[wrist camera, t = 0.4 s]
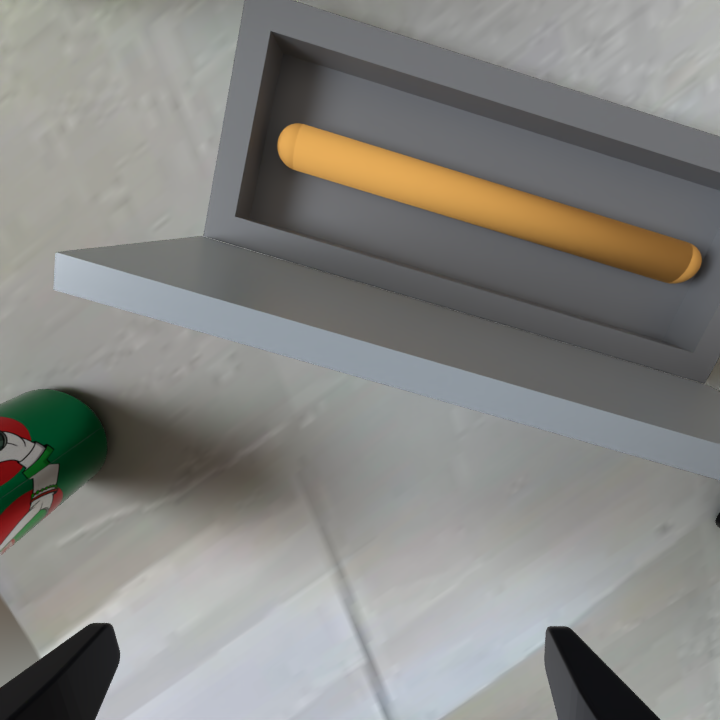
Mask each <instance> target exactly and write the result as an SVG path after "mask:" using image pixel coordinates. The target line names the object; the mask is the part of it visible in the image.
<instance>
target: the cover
mask: <svg viewBox="0 0 720 720" xmlns="http://www.w3.org/2000/svg"><path fill="white" fill-rule="evenodd" d="M54 290H56V291H59V292H63V293H66V294H70V295H73V296H77V297H80V298H84V299H87V300H91V301H94V302H98V303H101V304H105V305H108V306H112V307H115V308H119V309H122V310H126V311H129V312H133V313H136V314H140V315H143V316H147V317H150V318H154V319H157V320H161V321H164V322H168V323H171V324H175V325H178V326H182V327H185V328H189V329H192V330H196V331H199V332H203V333H206V334H210V335H213V336H217V337H220V338H224V339H227V340H231V341H234V342H238V343H241V344H245V345H248V346H252V347H255V348H259V349H262V350H266V351H269V352H273V353H276V354H280V355H283V356H287V357H290V358H294V359H297V360H301V361H304V362H308V363H311V364H315V365H318V366H322V367H325V368H329V369H332V370H336V371H339V372H343V373H346V374H350V375H353V376H357V377H360V378H364V379H367V380H371V381H374V382H378V383H381V384H385V385H388V386H392V387H395V388H399V389H402V390H406V391H409V392H413V393H416V394H420V395H423V396H427V397H430V398H434V399H437V400H441V401H444V402H448V403H451V404H455V405H458V406H462V407H465V408H468V409H472V410H475V411H479V412H482V413H486V414H489V415H493V416H496V417H500V418H503V419H507V420H510V421H514V422H517V423H521V424H524V425H528V426H531V427H535V428H538V429H542V430H545V431H549V432H552V433H556V434H559V435H563V436H566V437H570V438H573V439H577V440H580V441H584V442H587V443H591V444H594V445H598V446H601V447H605V448H608V449H612V450H615V451H619V452H622V453H626V454H629V455H633V456H636V457H640V458H643V459H647V460H650V461H654V462H657V463H661V464H664V465H668V466H671V467H675V468H678V469H682V470H685V471H689V472H692V473H696V474H699V475H703V476H706V477H710V478H713V479H717V480H720V391H718V390H716V389H714V388H712V387H710V386H708V385H705V384H701V383H698V382H695V381H691V380H688V379H684V378H681V377H678V376H674V375H671V374H667V373H664V372H661V371H657V370H654V369H650V368H647V367H644V366H640V365H637V364H633V363H630V362H627V361H623V360H620V359H617V358H613V357H610V356H606V355H603V354H600V353H596V352H593V351H589V350H586V349H583V348H579V347H576V346H572V345H569V344H566V343H562V342H559V341H555V340H552V339H549V338H545V337H542V336H539V335H535V334H532V333H528V332H525V331H522V330H518V329H515V328H511V327H508V326H505V325H501V324H498V323H494V322H491V321H488V320H484V319H481V318H477V317H474V316H471V315H467V314H464V313H460V312H457V311H454V310H450V309H447V308H444V307H440V306H437V305H433V304H430V303H427V302H423V301H420V300H416V299H413V298H410V297H406V296H403V295H399V294H396V293H393V292H389V291H386V290H382V289H379V288H376V287H372V286H369V285H366V284H362V283H359V282H355V281H352V280H349V279H345V278H342V277H338V276H335V275H332V274H328V273H325V272H321V271H318V270H315V269H311V268H308V267H304V266H301V265H298V264H294V263H291V262H288V261H284V260H281V259H277V258H274V257H271V256H267V255H264V254H260V253H257V252H254V251H250V250H247V249H243V248H240V247H237V246H233V245H230V244H226V243H223V242H220V241H216V240H213V239H209V238H206V237H203V236H197V237H188V238H179V239H170V240H161V241H152V242H143V243H134V244H125V245H116V246H107V247H98V248H89V249H80V250H71V251H61V252H56V254H55V272H54Z"/></svg>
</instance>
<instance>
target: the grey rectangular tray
mask: <svg viewBox="0 0 720 720" xmlns="http://www.w3.org/2000/svg"><path fill="white" fill-rule="evenodd" d="M294 123H301V124H305V125H309V126H312V127H315V128H318V129H322V130H325V131H328V132H331V133H335V134H338V135H341V136H344V137H348V138H351V139H354V140H357V141H361V142H364V143H367V144H370V145H374V146H377V147H380V148H383V149H386V150H390V151H393V152H396V153H399V154H403V155H406V156H409V157H412V158H416V159H419V160H422V161H425V162H429V163H432V164H435V165H438V166H442V167H445V168H448V169H451V170H455V171H458V172H461V173H464V174H468V175H471V176H474V177H477V178H481V179H484V180H487V181H490V182H494V183H497V184H500V185H503V186H507V187H510V188H513V189H516V190H520V191H523V192H526V193H529V194H533V195H536V196H539V197H542V198H546V199H549V200H552V201H555V202H559V203H562V204H565V205H568V206H572V207H575V208H578V209H581V210H585V211H588V212H591V213H594V214H598V215H601V216H604V217H607V218H611V219H614V220H617V221H620V222H624V223H627V224H630V225H633V226H637V227H640V228H643V229H646V230H650V231H653V232H656V233H659V234H663V235H666V236H669V237H672V238H675V239H679V240H682V241H685V242H688V243H691V244H693V245H694V246H695V247H697V249H698V250H699V251H700V253H701V257H702V262H701V266H700V269H699V270H698V272H697V273H696V274H695V275H694V276H693V277H692V278H690V279H689V280H686V281H684V282H681V283H676V284H671V283H665V282H662V281H658V280H655V279H652V278H648V277H645V276H642V275H639V274H635V273H632V272H629V271H625V270H622V269H619V268H615V267H612V266H609V265H606V264H602V263H599V262H596V261H592V260H589V259H586V258H582V257H579V256H576V255H573V254H569V253H566V252H563V251H559V250H556V249H553V248H550V247H546V246H543V245H540V244H536V243H533V242H530V241H526V240H523V239H520V238H517V237H513V236H510V235H507V234H503V233H500V232H497V231H494V230H490V229H487V228H484V227H480V226H477V225H474V224H470V223H467V222H464V221H461V220H457V219H454V218H451V217H447V216H444V215H441V214H437V213H434V212H431V211H428V210H424V209H421V208H418V207H414V206H411V205H408V204H405V203H401V202H398V201H395V200H391V199H388V198H385V197H381V196H378V195H375V194H372V193H368V192H365V191H362V190H358V189H355V188H352V187H349V186H345V185H342V184H339V183H335V182H332V181H329V180H325V179H322V178H319V177H316V176H312V175H309V174H306V173H302V172H299V171H296V170H293V169H291V168H289V167H288V166H286V165H285V164H284V163H283V161H282V160H281V158H280V156H279V154H278V149H277V143H278V138H279V135H280V133H281V132H282V130H283V129H284V128H286V127H287V126H289V125H291V124H294ZM203 236H205V237H208V238H212V239H215V240H219V241H222V242H225V243H229V244H232V245H235V246H239V247H242V248H246V249H249V250H252V251H256V252H259V253H263V254H266V255H269V256H273V257H276V258H280V259H283V260H286V261H290V262H293V263H297V264H300V265H303V266H307V267H310V268H313V269H317V270H320V271H324V272H327V273H330V274H334V275H337V276H341V277H344V278H347V279H351V280H354V281H358V282H361V283H364V284H368V285H371V286H375V287H378V288H381V289H385V290H388V291H391V292H395V293H398V294H402V295H405V296H408V297H412V298H415V299H419V300H422V301H425V302H429V303H432V304H436V305H439V306H442V307H446V308H449V309H453V310H456V311H459V312H463V313H466V314H469V315H473V316H476V317H480V318H483V319H486V320H490V321H493V322H497V323H500V324H503V325H507V326H510V327H514V328H517V329H520V330H524V331H527V332H531V333H534V334H537V335H541V336H544V337H547V338H551V339H554V340H558V341H561V342H564V343H568V344H571V345H575V346H578V347H581V348H585V349H588V350H592V351H595V352H598V353H602V354H605V355H609V356H612V357H615V358H619V359H622V360H625V361H629V362H632V363H636V364H639V365H642V366H646V367H649V368H653V369H656V370H659V371H663V372H666V373H670V374H673V375H676V376H680V377H683V378H687V379H690V380H693V381H697V382H700V383H703V384H705V382H706V380H707V379H708V377H709V375H710V373H711V371H712V369H713V368H714V366H715V364H716V362H717V360H718V359H719V357H720V137H719V136H716V135H713V134H710V133H707V132H704V131H700V130H697V129H694V128H691V127H688V126H685V125H682V124H678V123H675V122H672V121H669V120H666V119H663V118H660V117H657V116H653V115H650V114H647V113H644V112H641V111H638V110H635V109H631V108H628V107H625V106H622V105H619V104H616V103H613V102H610V101H606V100H603V99H600V98H597V97H594V96H591V95H588V94H584V93H581V92H578V91H575V90H572V89H569V88H566V87H562V86H559V85H556V84H553V83H550V82H547V81H544V80H541V79H537V78H534V77H531V76H528V75H525V74H522V73H519V72H515V71H512V70H509V69H506V68H503V67H500V66H497V65H494V64H490V63H487V62H484V61H481V60H478V59H475V58H472V57H468V56H465V55H462V54H459V53H456V52H453V51H450V50H447V49H443V48H440V47H437V46H434V45H431V44H428V43H425V42H421V41H418V40H415V39H412V38H409V37H406V36H403V35H399V34H396V33H393V32H390V31H387V30H384V29H381V28H378V27H374V26H371V25H368V24H365V23H362V22H359V21H356V20H352V19H349V18H346V17H343V16H340V15H337V14H334V13H331V12H327V11H324V10H321V9H318V8H315V7H312V6H309V5H305V4H302V3H299V2H296V1H293V0H245V1H244V7H243V13H242V19H241V24H240V30H239V36H238V41H237V47H236V53H235V58H234V64H233V70H232V76H231V81H230V87H229V93H228V98H227V104H226V110H225V115H224V121H223V127H222V133H221V138H220V144H219V150H218V155H217V161H216V167H215V173H214V178H213V184H212V190H211V195H210V201H209V207H208V212H207V218H206V224H205V230H204V235H203Z"/></svg>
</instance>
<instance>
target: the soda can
mask: <svg viewBox="0 0 720 720" xmlns="http://www.w3.org/2000/svg"><path fill="white" fill-rule="evenodd" d="M106 455H107V439H106V434H105V430H104V428H103V425H102V423H101V422H100V420H99V418H98V417H97V415H96V414H95V413H94V412H93V411H92V410H91V409H90V408H89V407H88V406H87V405H86V404H85V403H83V402H82V401H80V400H79V399H77V398H75V397H73V396H71V395H68V394H66V393H63V392H60V391H56V390H50V389H38V390H32V391H29V392H26V393H24V394H21V395H19V396H17V397H15V398H13V399H10V400H8V401H6V402H4V403H2V404H0V556H1V555H2V554H3V553H4V552H6V551H7V550H8V549H9V548H10V547H11V546H13V545H14V544H15V543H16V542H17V541H18V540H20V539H21V538H22V537H23V536H24V535H25V534H27V533H28V532H29V531H30V530H31V529H32V528H34V527H35V526H36V525H37V524H38V523H39V522H41V521H42V520H43V519H44V518H45V517H46V516H48V515H49V514H50V513H51V512H52V511H53V510H55V509H56V508H57V507H58V506H59V505H61V504H62V503H63V502H64V501H65V500H66V499H68V498H69V497H70V496H71V495H72V494H73V493H75V492H76V491H77V490H78V489H79V488H80V487H82V486H83V485H84V484H85V483H86V482H87V481H89V480H90V479H91V478H92V477H93V476H94V475H96V474H97V472H98V471H99V470H100V469H101V467H102V466H103V464H104V462H105V459H106Z"/></svg>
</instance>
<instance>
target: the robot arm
mask: <svg viewBox="0 0 720 720" xmlns="http://www.w3.org/2000/svg"><path fill="white" fill-rule="evenodd" d="M716 525H717V526H718V527H719V528H720V513H719V514H718V516H717V518H716ZM119 661H120V650H119V646H118V643H117V639H116V635H115V632H114V628H113V626H112V625H111V624H109V623H92V624H90V625H88V626H86V627H85V628H83V629H82V630H81V631H79V632H78V633H76V634H75V635H74V636H72V637H71V638H69V639H68V640H67V641H65V642H64V643H62V644H61V645H60V646H58V647H57V648H55V649H54V650H53V651H51V652H50V653H48V654H47V655H46V656H44V657H43V658H41V659H40V660H39V661H37V662H36V663H34V664H33V665H32V666H30V667H29V668H27V669H26V670H25V671H23V672H22V673H20V674H19V675H18V676H16V677H15V678H13V679H12V680H11V681H9V682H8V683H6V684H5V685H4V686H2V687H1V688H0V720H95V719H96V716H97V714H98V712H99V709H100V707H101V705H102V702H103V700H104V698H105V695H106V693H107V691H108V688H109V686H110V683H111V681H112V679H113V676H114V674H115V672H116V669H117V667H118V664H119ZM544 661H545V669H546V674H547V678H548V681H549V685H550V689H551V693H552V697H553V701H554V705H555V709H556V712H557V716H558V720H660V719H659V718H658V717H657V716H656V715H655V714H654V713H653V712H652V711H651V710H650V709H649V707H648V706H647V705H646V704H645V703H644V702H643V701H642V700H641V699H640V698H639V697H638V696H637V695H636V694H635V693H634V692H633V691H632V690H631V689H630V688H629V687H628V686H627V685H626V684H625V683H624V682H623V681H622V680H621V679H620V678H619V677H618V676H617V675H616V674H615V673H614V672H613V671H612V670H611V669H610V668H609V667H608V666H607V665H606V664H605V663H604V662H603V661H602V660H601V659H600V658H599V657H598V656H597V655H596V654H595V653H594V652H593V651H592V650H591V649H590V647H589V646H588V645H587V644H586V643H585V642H584V641H583V640H582V639H581V638H580V637H579V636H578V635H577V634H576V633H575V632H574V631H573V630H572V629H570V628H569V627H565V626H550V627H548V628H547V630H546V638H545V655H544Z"/></svg>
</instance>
